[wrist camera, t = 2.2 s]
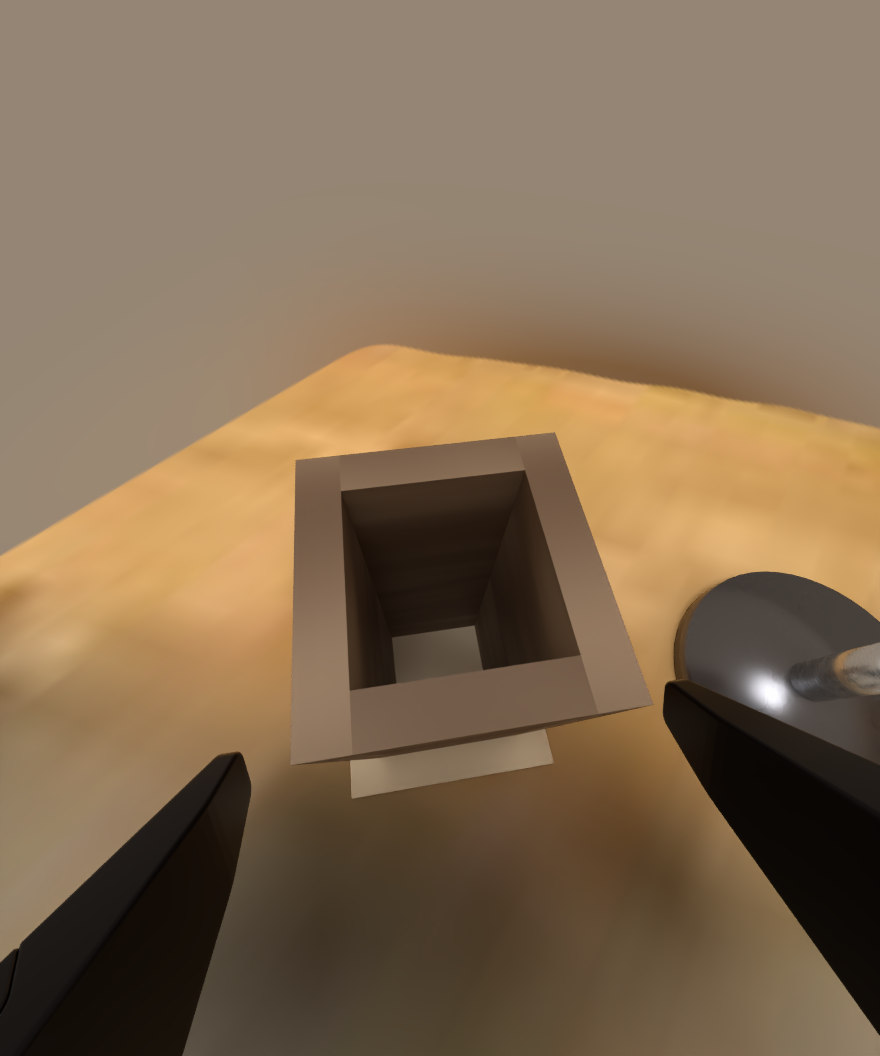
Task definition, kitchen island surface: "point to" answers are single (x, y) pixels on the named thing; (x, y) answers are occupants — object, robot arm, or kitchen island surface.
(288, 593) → the kitchen island surface
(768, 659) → the hub
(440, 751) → the cork pad
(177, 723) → the kitchen island surface
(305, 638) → the collar
